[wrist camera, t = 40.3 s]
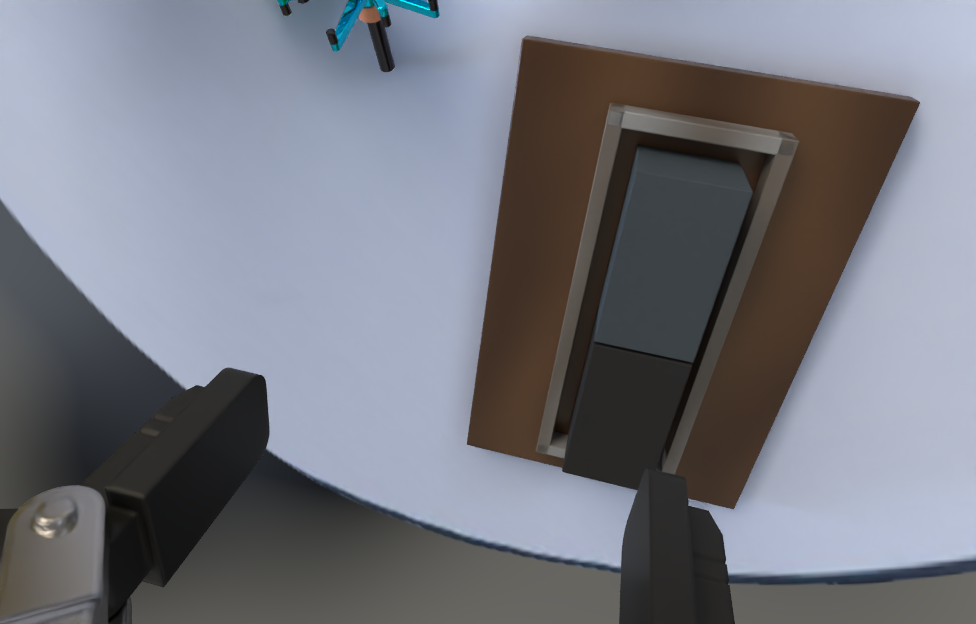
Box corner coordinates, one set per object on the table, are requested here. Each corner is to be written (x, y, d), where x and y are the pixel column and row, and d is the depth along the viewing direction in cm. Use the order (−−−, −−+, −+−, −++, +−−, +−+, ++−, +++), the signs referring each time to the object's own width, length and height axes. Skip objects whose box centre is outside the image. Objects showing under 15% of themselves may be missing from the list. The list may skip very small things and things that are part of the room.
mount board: (470, 433, 44) (461, 459, 42) (526, 35, 31) (516, 41, 29) (731, 496, 42) (736, 527, 40) (911, 96, 29) (934, 109, 27)
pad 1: (599, 300, 36) (593, 341, 32) (637, 143, 31) (636, 170, 28) (688, 318, 35) (693, 363, 32) (740, 162, 31) (753, 191, 27)
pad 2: (569, 423, 41) (561, 472, 37) (598, 303, 36) (593, 344, 32) (647, 441, 40) (648, 493, 36) (687, 321, 35) (692, 366, 32)
